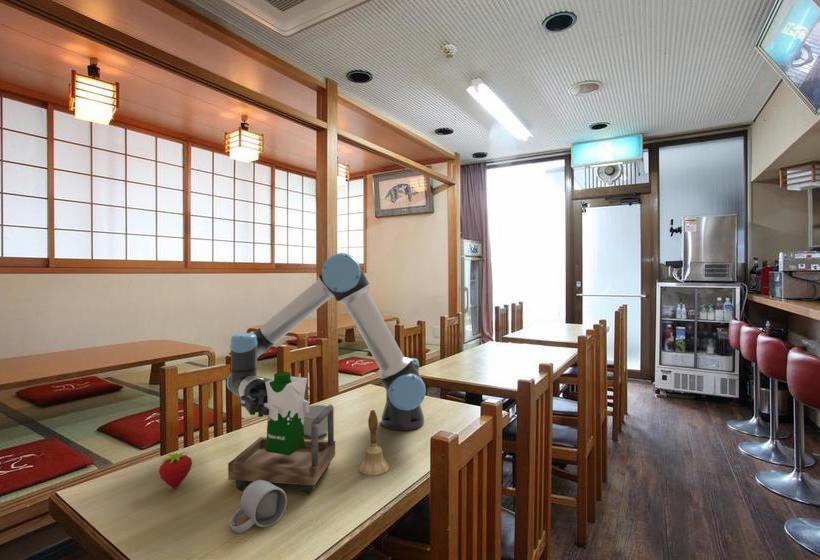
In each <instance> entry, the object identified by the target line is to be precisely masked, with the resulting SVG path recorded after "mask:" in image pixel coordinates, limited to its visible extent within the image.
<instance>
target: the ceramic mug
mask: <svg viewBox="0 0 820 560" xmlns="http://www.w3.org/2000/svg"><path fill="white" fill-rule="evenodd" d="M287 504H288V498H287V494H286V493H285V491H284V490H283V489H282V488H281V487H278V486H276V485H275V484H273V483H271V482H267V481H264V480H257V481H251V483H249V484H248V486H247V487H246V488H245V489H243V491H242V494H241V497H240V507H239V509H237V510H236V512H234V514H233V515H232V516H231V518H230V521H229V525H230V528H231V530H232V531H233V532H234V533H236V534H240V533H244V532H245V531H247V530H248V529H251V528H252V527H253V526H254V525H256V526H258V527H260V528H268V527H271V526H272V525H275V524H276V523H277V522H278V521H279V520H280V519H281V518H282V517H283V515H284V513H285V510H286V508H287ZM243 514H245V515H246V516H248V518H249V519H248V520H246V521H245V522H243V523H242V524H240V525H238V526H236V524H237V521H238V520H239V518H241V516H242V515H243Z"/></svg>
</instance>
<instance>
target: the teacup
mask: <svg viewBox="0 0 820 560" xmlns="http://www.w3.org/2000/svg"><path fill="white" fill-rule="evenodd" d="M327 406H328V405H325V404H312V405H311V404H310V405H309V412H308V413H306V412H304V436H306V437H310V438H311V424H312V421H313V420H314V419H315V418H316V417H317V416H318V415H319V414H320V413H321V412H322V411H323V410H324V409H325V408H326V407H327ZM327 433H328V415H327V416H326V417H325V418H324V419H323V420H322V421H321V422H320V424H319V425H318V438H320V437H322V436H325V434H327Z"/></svg>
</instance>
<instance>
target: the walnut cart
mask: <svg viewBox="0 0 820 560" xmlns="http://www.w3.org/2000/svg"><path fill="white" fill-rule="evenodd" d="M326 406H327V407H326V408H325V409H324V410H323V411H322V412H321V413H320V414H319V415H318V416H317V417H316V418H315V419H314V420H313V421H312V424H311V437H310V438H311V439H305V438H304V443H305V445H303V446H302V447H301V448H299V449H298V450H296V451H295V452H294V453H292V454H291V455H283V454H277V453H272V452H266V441H267V436H266V437H265V436H263V437H262V436H260V437H259V438H258V439H256V440H255V441H254V442H253V443H251V444H250V445H249V446H247V447H246V448H245V449H244V450H242V451H241V452H240V453H239V454H238V455H236V457H234V458H233V459H232V460H231V461H229V462H228V463H227V472H228V475H227V477H228V478H227V480H228V481H234V486H235V488H236V489H238V490H240V491H242V490H243V491H244V490H245V488H246V487H247V486H248V485H249V484H250V482H254V481H257V480H264V481H267V482H269V483H271V484H273V483H274V484H290V485H300V491H301V492H302V493H303V494H304V495H310V494H311V493H312V492H313V490H314V489H315V486H316V484H317V482H318V481H319V479H320V478H321V477H322V475H323V474H324V472H325V471H326V470H328V468H330V465H331V462H332V461H333V459H334V458H335V457H336V440H334V439H335V438H334V437H335V435H334V434H335V433H334V432H335V431H334V429H335V428H334V426H335V423H334V421H335V419H334V413H335V412H334V411H335V410H334V408H335V407H334V406H333V405H332V404H328V405H326ZM327 415H328V432H327V440H325V439H324V440H323V439H322V440H321V439H319V437H318V425H319V424H320V422H321V421H322V420H323V419H324V418H325V417H326V416H327Z"/></svg>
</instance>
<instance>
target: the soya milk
mask: <svg viewBox="0 0 820 560" xmlns="http://www.w3.org/2000/svg"><path fill="white" fill-rule="evenodd" d="M291 374H292V373H290V372H288V371H279V372H276V373H274V374H273V379H270V380H266V381H267V382H266V389H267V395H268V404H269V405H271V406H273V407H275V408H277V409H278V420H277V421H274V420H273V419H271V418H269V417H268V416H266V425H267V427H266V437H267V441H266V452H272V453H277V454H283V455H291V454H292V453H294V452H295V451H296V450H298V449H299V448H301V447H302V446H303V445H305V443H304V439H305V434H304V395H305V396H306V388H307V382H308V378H307V377H300V376H292V375H291Z"/></svg>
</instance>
